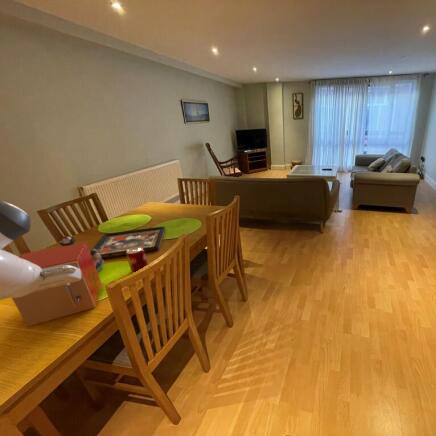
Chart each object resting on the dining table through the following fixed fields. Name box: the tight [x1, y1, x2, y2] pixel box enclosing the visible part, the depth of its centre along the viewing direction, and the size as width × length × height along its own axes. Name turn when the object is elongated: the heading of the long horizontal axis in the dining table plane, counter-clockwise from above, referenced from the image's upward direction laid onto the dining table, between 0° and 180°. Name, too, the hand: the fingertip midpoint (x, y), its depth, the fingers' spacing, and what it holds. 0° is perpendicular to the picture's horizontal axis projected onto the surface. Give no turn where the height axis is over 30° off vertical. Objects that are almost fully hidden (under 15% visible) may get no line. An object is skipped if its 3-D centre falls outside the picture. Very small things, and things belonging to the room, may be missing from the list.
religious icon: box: [92, 226, 166, 259], centre depth 144 cm, size 38×35×3 cm
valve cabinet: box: [18, 241, 103, 307], centre depth 94 cm, size 16×20×22 cm
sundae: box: [58, 233, 77, 247], centre depth 127 cm, size 7×7×15 cm
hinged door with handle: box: [11, 261, 96, 327], centre depth 85 cm, size 6×20×21 cm, turn 119°
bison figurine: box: [89, 247, 105, 273], centre depth 116 cm, size 12×7×10 cm, turn 14°
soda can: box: [125, 247, 149, 274], centre depth 116 cm, size 7×7×12 cm
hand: (45, 288), depth 71 cm, fingers open, 8 cm apart
